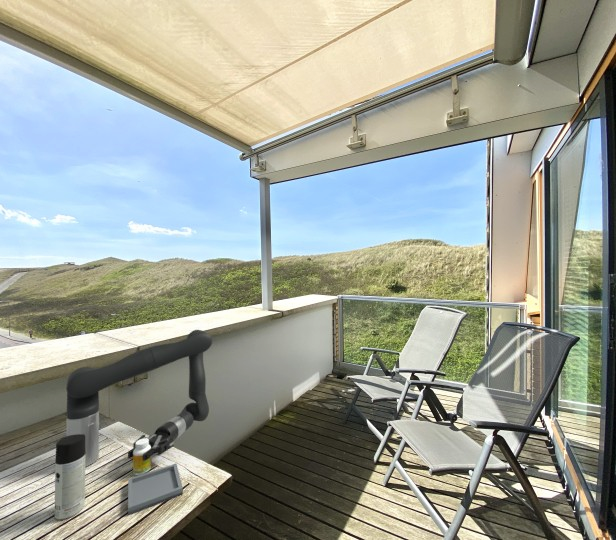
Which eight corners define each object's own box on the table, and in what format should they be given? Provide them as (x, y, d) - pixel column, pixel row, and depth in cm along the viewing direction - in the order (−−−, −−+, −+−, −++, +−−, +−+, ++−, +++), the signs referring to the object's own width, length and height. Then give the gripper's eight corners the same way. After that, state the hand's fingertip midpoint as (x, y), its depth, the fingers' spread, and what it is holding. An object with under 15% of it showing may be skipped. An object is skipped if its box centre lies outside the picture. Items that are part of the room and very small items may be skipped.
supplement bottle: (143, 476, 96) (142, 446, 96) (129, 474, 97) (129, 445, 97) (154, 465, 101) (154, 437, 101) (141, 464, 102) (141, 436, 102)
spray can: (66, 502, 85) (66, 433, 86) (90, 500, 86) (91, 432, 86) (47, 521, 78) (48, 446, 79) (74, 519, 79) (74, 445, 79)
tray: (128, 515, 80) (128, 508, 80) (128, 485, 92) (128, 478, 92) (182, 494, 87) (182, 487, 87) (176, 469, 99) (176, 463, 99)
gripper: (155, 419, 115) (118, 443, 98) (187, 422, 112) (154, 447, 95) (155, 438, 115) (118, 465, 98) (187, 442, 111) (154, 471, 95)
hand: (136, 456), depth 97 cm, fingers closed on supplement bottle, 5 cm apart
